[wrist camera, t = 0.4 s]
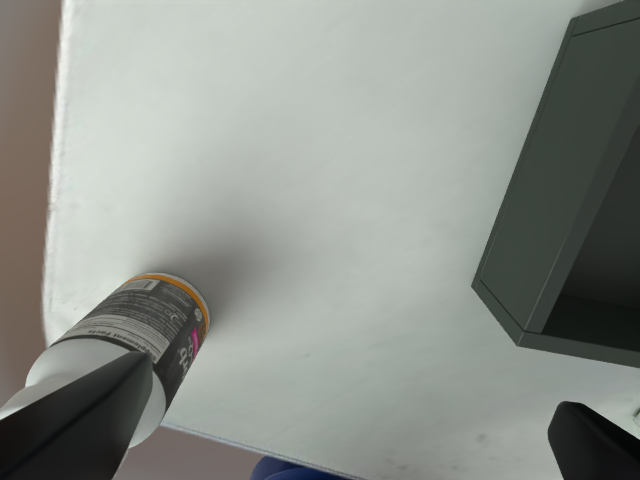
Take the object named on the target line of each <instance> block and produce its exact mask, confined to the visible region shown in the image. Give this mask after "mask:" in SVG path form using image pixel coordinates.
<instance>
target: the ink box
mask: <svg viewBox="0 0 640 480" xmlns="http://www.w3.org/2000/svg"><path fill="white" fill-rule="evenodd" d="M633 421H634V422H635V423H636V424H637V425H638V426H639V427H640V413H639V414H638V415H637V416H636V417H635V418H634V419H633Z"/></svg>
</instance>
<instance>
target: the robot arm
mask: <svg viewBox="0 0 640 480" xmlns="http://www.w3.org/2000/svg"><path fill="white" fill-rule="evenodd" d="M152 388H153V369H152V357H151V355H150V354H149V353H146V352H138V351H130V352H128V353H126V354H124V355H122V356H120V357H118V358H117V359H115V360H113V361H111V362H109V363H107V364H105V365H103V366H101V367H99V368H98V369H96V370H94V371H92V372H90V373H88V374H86V375H84V376H82V377H81V378H79V379H77V380H75V381H73V382H71V383H69V384H67V385H65V386H63V387H62V388H60V389H58V390H56V391H54V392H52V393H50V394H48V395H46V396H44V397H43V398H41V399H39V400H37V401H35V402H33V403H31V404H29V405H27V406H26V407H24V408H22V409H20V410H18V411H16V412H14V413H12V414H10V415H8V416H7V417H5V418H3V419H1V420H0V480H112V479H113V477H114V475H115V473H116V471H117V470H118V468H119V466H120V464H121V461H122V459H123V457H124V455H125V453H126V450H127V448H128V446H129V444H130V441H131V439H132V437H133V434H134V432H135V430H136V427H137V425H138V423H139V421H140V418H141V416H142V414H143V411H144V409H145V407H146V405H147V402H148V400H149V398H150V395H151V392H152ZM548 440H549V443H550V446H551V448H552V451H553V453H554V456H555V458H556V461H557V464H558V466H559V469H560V471H561V474H562V476H563V479H564V480H640V440H639V439H637V438H636V437H634V436H633V435H631V434H630V433H628V432H627V431H625V430H623V429H622V428H620V427H619V426H617V425H616V424H614V423H612V422H611V421H609V420H608V419H606V418H605V417H603V416H601V415H600V414H598V413H597V412H595V411H594V410H592V409H590V408H589V407H587V406H586V405H584V404H582V403H577V402H568V401H563V402H561V403H560V404H559V405H558V406H557V409H556V411H555V414H554V416H553V418H552V421H551V423H550V425H549V428H548Z"/></svg>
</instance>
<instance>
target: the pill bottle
mask: <svg viewBox="0 0 640 480" xmlns="http://www.w3.org/2000/svg"><path fill="white" fill-rule="evenodd" d="M209 325H210V316H209V311H208V307H207V305H206V302H205V300H204V299H203V297H202V296H201V294H200V293H199V292H198V291H197V290H196V289H195V288H194V287H193V286H192V285H191V284H189V283H188V282H187V281H185V280H183V279H181V278H179V277H176V276H174V275H170V274H166V273H145V274H141V275H138V276H135V277H133V278H131V279H130V280H128V281H127V282H125V283H124V284H122V285H121V286H120V287H119V288H118V289H116V290H115V291H114V292H113V293H112V294H110V295H109V296H108V297H107V298H106V299H105V300H103V301H102V302H101V303H100V304H99V305H98V306H97V307H96V308H94V309H93V310H92V311H91V312H90V313H89V314H87V315H86V316H85V317H84V318H83V319H82V320H80V321H79V322H78V323H77V324H76V325H75V326H73V327H72V328H71V329H70V330H69V331H67V332H66V333H65V334H64V335H63V336H62V337H61V338H59V339H58V340H57V341H56V342H54V343H53V344H52V345H51V346H50V347H49V348H48V349H47V350H45V351H44V352H43V353H42V354H41V355H40V357H39V358H38V359H37V361H36V362H35V363H34V364H33V366H32V368H31V370H30V371H29V374H28V377H27V380H26V385H25V388H24V389H22V390H20V391H19V392H17V393H16V394H15V395H14V396H13V397H12V398H11V399H10V400H9V401H8V402H7V403H6V404H5V405H4V406H3V407H2V408H0V420H1V419H3V418H5V417H7V416H8V415H10V414H12V413H14V412H16V411H18V410H20V409H22V408H24V407H26V406H27V405H29V404H31V403H33V402H35V401H37V400H39V399H41V398H43V397H44V396H46V395H48V394H50V393H52V392H54V391H56V390H58V389H60V388H62V387H63V386H65V385H67V384H69V383H71V382H73V381H75V380H77V379H79V378H81V377H82V376H84V375H86V374H88V373H90V372H92V371H94V370H96V369H98V368H99V367H101V366H103V365H105V364H107V363H109V362H111V361H113V360H115V359H117V358H118V357H120V356H122V355H124V354H126V353H128V352H130V351H138V352H146V353H149V354H150V355H151V357H152V369H153V388H152V392H151V395H150V398H149V400H148V402H147V405H146V407H145V409H144V411H143V414H142V416H141V418H140V421H139V423H138V425H137V427H136V430H135V432H134V434H133V437H132V439H131V441H130V444H129V446H128V448H127V450H126V453H125V455H124V457H123V459H122V461H121V464H120V466H119V468H118V470H117V471H116V473H115V475H114V477H115V476H116V474H117V472H118V471H119V469H120V467H121V466H122V464H123V462H124V460H125V458H126V456H127V454H128V451H129V448H131V447H133V446H135V445H137V444H139V443H141V442H142V441H144V440H145V439H146V438H147V437H148V436H150V434H152V433H153V431H154V430H155V429H156V428H157V427H158V425H159V424H160V423H161V421H162V419H163V417H164V416H165V413H166V412H167V410H168V408H169V406H170V404H171V402H172V400H173V398H174V396H175V394H176V392H177V390H178V389H179V387H180V385H181V383H182V381H183V379H184V377H185V376H186V374H187V372H188V370H189V368H190V366H191V364H192V363H193V361H194V359H195V357H196V355H197V353H198V351H199V349H200V347H201V346H202V344H203V342H204V340H205V337H206V335H207V333H208V330H209ZM114 477H113V479H114ZM113 479H112V480H113Z"/></svg>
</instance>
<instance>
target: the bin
mask: <svg viewBox="0 0 640 480" xmlns="http://www.w3.org/2000/svg"><path fill="white" fill-rule="evenodd" d="M471 287H472V288H473V290H474V291H475V292H476V293H477V295H478V296H479V297H480V299H481V300H482V301H483V303H484V304H485V305H486V306H487V308H488V309H489V310H490V312H491V313H492V314H493V316H494V317H495V318H496V319H497V321H498V322H499V323H500V325H501V326H502V327H503V329H504V330H505V331H506V332H507V334H508V335H509V336H510V338H511V339H512V340H513V342H514V343H515V344H516V345H517V346H519V347H525V348H530V349H536V350H541V351H547V352H553V353H558V354H564V355H569V356H575V357H580V358H586V359H592V360H597V361H603V362H608V363H614V364H619V365H625V366H630V367H636V368H640V0H625V1H622V2H619V3H616V4H613V5H610V6H607V7H604V8H601V9H599V10H596V11H593V12H590V13H587V14H584V15H581V16H578V17H575V18H573V19H571V20H570V23H569V26H568V28H567V31H566V34H565V36H564V39H563V42H562V44H561V47H560V50H559V52H558V55H557V58H556V60H555V63H554V66H553V68H552V71H551V74H550V76H549V79H548V82H547V84H546V87H545V90H544V92H543V95H542V98H541V100H540V103H539V106H538V109H537V111H536V114H535V117H534V119H533V122H532V125H531V127H530V130H529V133H528V135H527V138H526V141H525V143H524V146H523V149H522V151H521V154H520V157H519V159H518V162H517V165H516V167H515V170H514V173H513V175H512V178H511V181H510V183H509V186H508V189H507V191H506V194H505V197H504V199H503V202H502V205H501V207H500V210H499V213H498V216H497V218H496V221H495V224H494V226H493V229H492V232H491V234H490V237H489V240H488V242H487V245H486V248H485V250H484V253H483V256H482V258H481V261H480V264H479V266H478V269H477V272H476V274H475V277H474V280H473V282H472V285H471Z"/></svg>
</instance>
